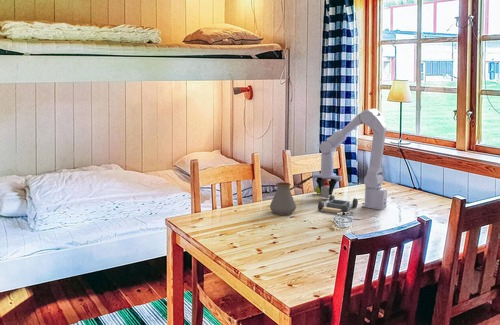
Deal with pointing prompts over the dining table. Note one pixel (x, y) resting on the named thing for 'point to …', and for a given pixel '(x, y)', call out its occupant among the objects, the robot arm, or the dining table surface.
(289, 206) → the coffee pot
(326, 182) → the bird rattle
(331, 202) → the chassis
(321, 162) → the robot arm
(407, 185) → the dining table surface
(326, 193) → the block
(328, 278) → the dining table surface
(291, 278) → the dining table surface
